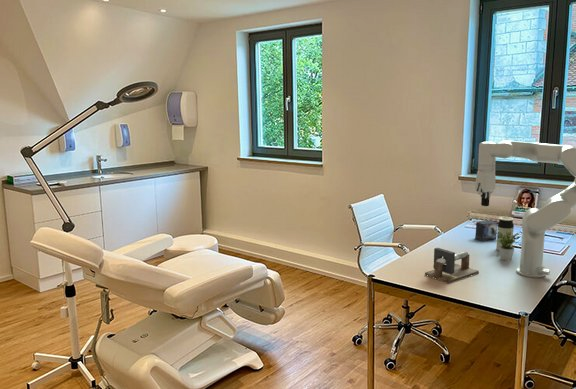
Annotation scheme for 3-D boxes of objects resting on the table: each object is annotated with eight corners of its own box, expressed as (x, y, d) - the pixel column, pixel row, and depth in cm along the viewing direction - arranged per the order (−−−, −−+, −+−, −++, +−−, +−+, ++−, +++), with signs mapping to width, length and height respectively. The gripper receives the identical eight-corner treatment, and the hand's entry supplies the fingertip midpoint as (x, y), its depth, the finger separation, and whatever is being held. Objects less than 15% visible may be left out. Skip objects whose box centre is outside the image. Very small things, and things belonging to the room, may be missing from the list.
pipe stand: (478, 273, 235) (479, 253, 233) (448, 283, 223) (449, 263, 221) (454, 265, 247) (455, 247, 245) (424, 274, 235) (425, 255, 233)
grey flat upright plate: (454, 273, 228) (455, 252, 226) (450, 274, 226) (451, 253, 224) (436, 267, 236) (437, 247, 234) (433, 268, 234) (434, 248, 233)
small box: (481, 241, 287) (482, 223, 285) (474, 238, 293) (475, 221, 291) (496, 239, 290) (497, 222, 288) (489, 236, 296) (490, 219, 294)
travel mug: (509, 247, 273) (511, 216, 270) (514, 252, 266) (516, 219, 262) (494, 247, 274) (496, 216, 271) (499, 251, 266) (500, 219, 263)
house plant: (525, 264, 245) (528, 233, 242) (496, 263, 248) (498, 232, 245) (518, 256, 259) (520, 226, 256) (490, 254, 262) (492, 225, 259)
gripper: (488, 165, 239) (487, 202, 242) (470, 168, 231) (468, 206, 234) (503, 167, 233) (501, 204, 236) (484, 170, 225) (482, 209, 228)
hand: (485, 205), depth 235 cm, fingers closed
